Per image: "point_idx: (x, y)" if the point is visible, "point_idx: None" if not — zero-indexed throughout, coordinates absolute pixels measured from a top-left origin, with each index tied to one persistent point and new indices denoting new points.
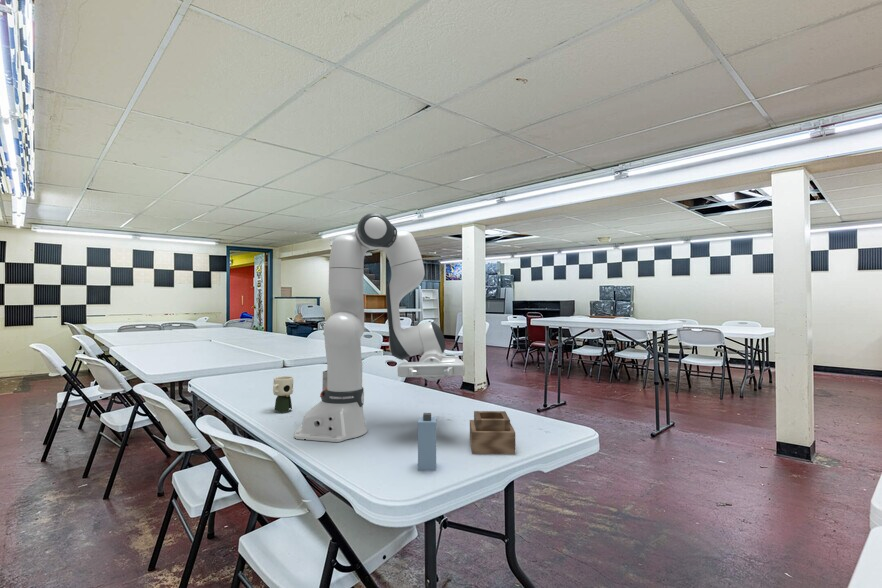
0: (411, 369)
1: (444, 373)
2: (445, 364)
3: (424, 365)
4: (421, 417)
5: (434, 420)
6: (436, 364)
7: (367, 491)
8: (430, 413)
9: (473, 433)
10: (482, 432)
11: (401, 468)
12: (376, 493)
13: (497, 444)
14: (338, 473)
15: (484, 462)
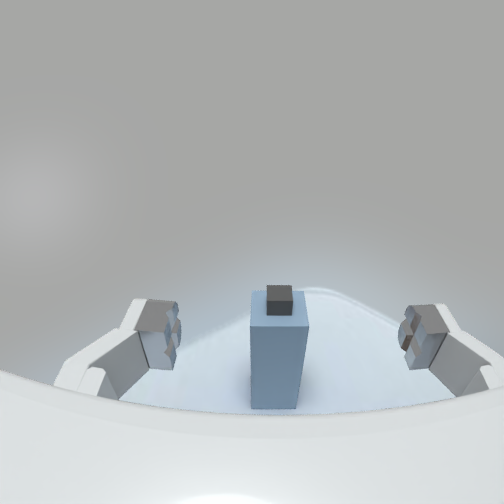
0: (471, 340)
1: (174, 328)
2: (106, 409)
3: (404, 409)
4: (300, 325)
5: (256, 302)
6: (235, 432)
7: (360, 308)
8: (269, 296)
9: None
10: None
11: (331, 382)
12: (344, 305)
13: None
14: None
15: None
